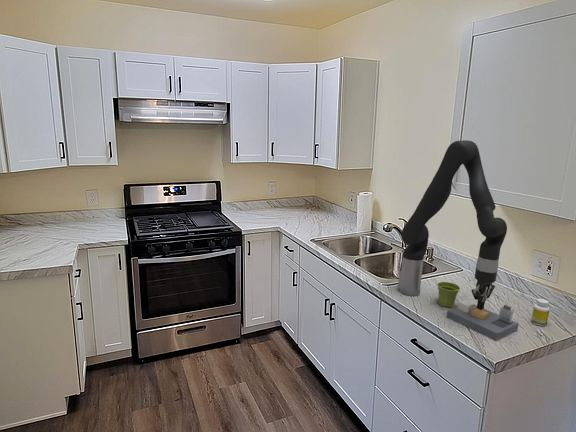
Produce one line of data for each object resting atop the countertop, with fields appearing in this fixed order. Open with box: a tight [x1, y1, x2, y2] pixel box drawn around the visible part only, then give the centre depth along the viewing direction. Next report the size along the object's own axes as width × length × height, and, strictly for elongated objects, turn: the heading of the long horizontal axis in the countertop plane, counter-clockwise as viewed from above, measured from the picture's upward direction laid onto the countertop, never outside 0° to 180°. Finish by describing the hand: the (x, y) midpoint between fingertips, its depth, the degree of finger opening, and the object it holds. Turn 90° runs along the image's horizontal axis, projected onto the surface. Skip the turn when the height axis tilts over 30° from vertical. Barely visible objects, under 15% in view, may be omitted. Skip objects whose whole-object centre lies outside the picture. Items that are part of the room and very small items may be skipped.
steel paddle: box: [498, 304, 514, 323], centre depth 152 cm, size 4×2×6 cm, turn 33°
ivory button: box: [457, 299, 476, 313], centre depth 162 cm, size 4×4×4 cm
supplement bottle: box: [530, 298, 550, 327], centre depth 158 cm, size 5×5×10 cm
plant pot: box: [436, 281, 461, 308], centre depth 172 cm, size 9×9×9 cm
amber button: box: [471, 309, 489, 320], centre depth 157 cm, size 4×4×4 cm
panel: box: [446, 304, 520, 342], centre depth 157 cm, size 21×15×3 cm
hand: (480, 308), depth 157 cm, fingers closed
